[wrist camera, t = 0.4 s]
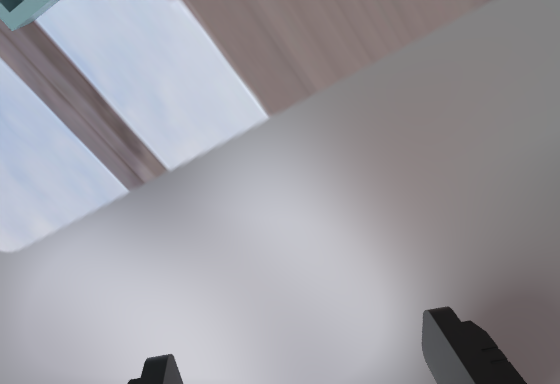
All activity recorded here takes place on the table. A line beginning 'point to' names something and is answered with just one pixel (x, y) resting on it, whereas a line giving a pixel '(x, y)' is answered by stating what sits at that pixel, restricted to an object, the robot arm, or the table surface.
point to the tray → (22, 11)
